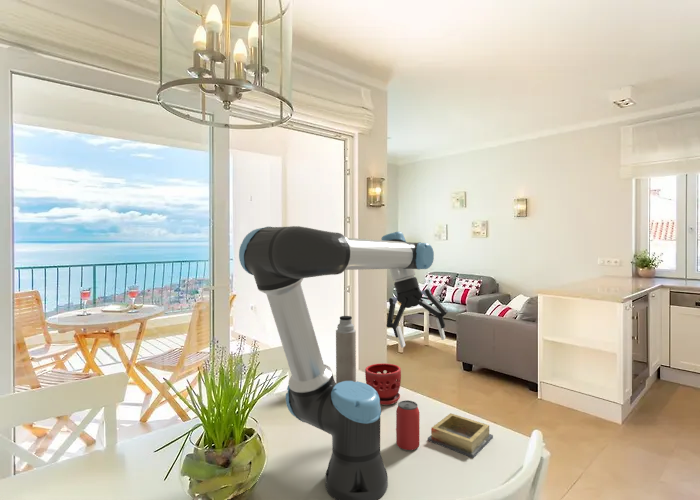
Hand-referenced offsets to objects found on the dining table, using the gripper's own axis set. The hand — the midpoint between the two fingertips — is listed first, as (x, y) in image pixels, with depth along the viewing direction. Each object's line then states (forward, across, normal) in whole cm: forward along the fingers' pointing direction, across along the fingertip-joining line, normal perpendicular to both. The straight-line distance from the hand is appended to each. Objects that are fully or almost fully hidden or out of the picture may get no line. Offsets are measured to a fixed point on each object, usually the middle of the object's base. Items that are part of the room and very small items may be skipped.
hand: (423, 342), depth 125 cm
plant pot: (+20, +24, -11) cm, 33 cm away
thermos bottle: (+15, +42, -19) cm, 48 cm away
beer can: (+25, +8, +16) cm, 31 cm away
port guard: (+28, -5, +6) cm, 29 cm away
